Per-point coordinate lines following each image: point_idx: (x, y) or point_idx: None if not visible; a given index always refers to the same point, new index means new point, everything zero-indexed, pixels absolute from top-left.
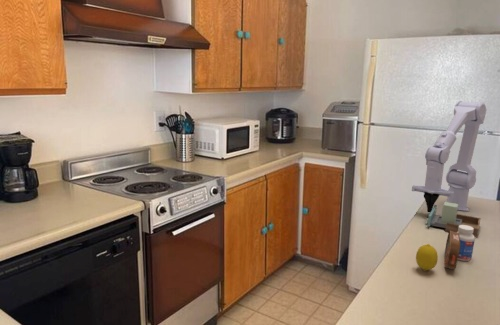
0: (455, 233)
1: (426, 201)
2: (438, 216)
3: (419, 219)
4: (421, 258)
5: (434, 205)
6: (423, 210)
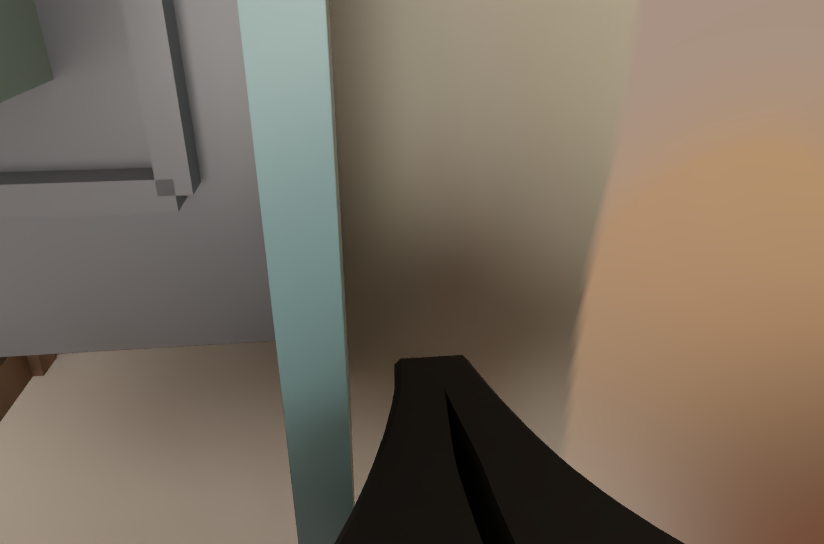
0: None
1: (600, 505)
2: (170, 158)
3: (558, 42)
4: None
5: None
6: None
